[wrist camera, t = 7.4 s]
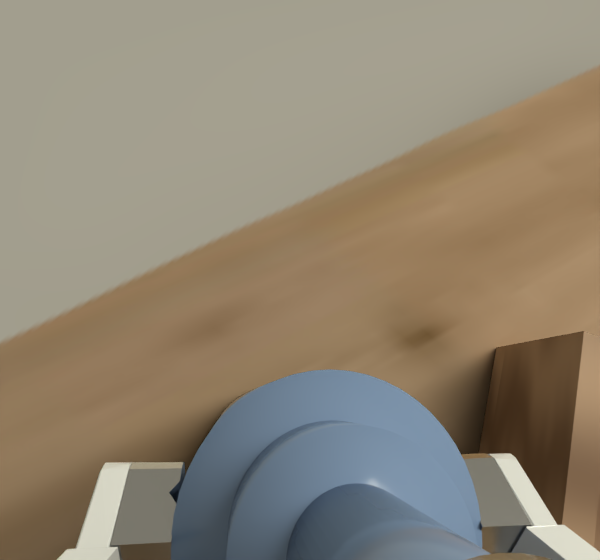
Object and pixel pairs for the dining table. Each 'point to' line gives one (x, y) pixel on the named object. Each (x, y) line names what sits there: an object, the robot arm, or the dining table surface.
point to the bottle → (328, 479)
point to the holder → (551, 423)
